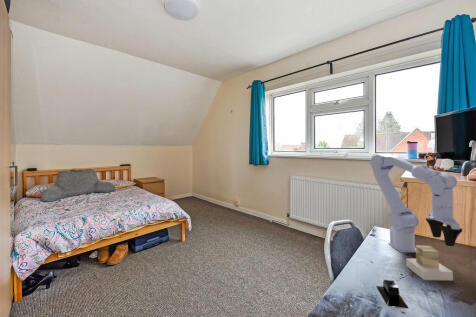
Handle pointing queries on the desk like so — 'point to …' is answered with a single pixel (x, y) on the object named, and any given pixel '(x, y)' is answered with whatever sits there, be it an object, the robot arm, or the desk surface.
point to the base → (429, 271)
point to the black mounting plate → (391, 294)
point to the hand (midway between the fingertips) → (442, 241)
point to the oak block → (427, 256)
